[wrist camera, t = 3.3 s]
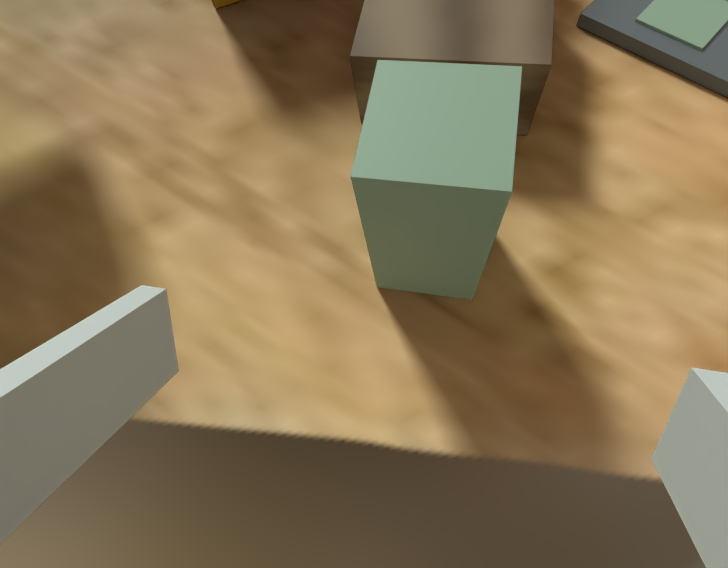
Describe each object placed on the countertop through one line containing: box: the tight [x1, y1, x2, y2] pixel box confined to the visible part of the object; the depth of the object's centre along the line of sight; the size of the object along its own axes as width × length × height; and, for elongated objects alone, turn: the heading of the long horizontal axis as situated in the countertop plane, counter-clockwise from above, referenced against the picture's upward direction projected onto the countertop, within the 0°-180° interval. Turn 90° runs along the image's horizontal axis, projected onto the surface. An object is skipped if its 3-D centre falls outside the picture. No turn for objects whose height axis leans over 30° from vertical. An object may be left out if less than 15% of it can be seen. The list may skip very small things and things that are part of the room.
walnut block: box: [350, 0, 555, 135], centre depth 31 cm, size 12×12×6 cm
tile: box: [576, 0, 728, 98], centre depth 32 cm, size 12×8×1 cm, turn 46°
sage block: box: [351, 60, 522, 300], centre depth 23 cm, size 6×6×12 cm
